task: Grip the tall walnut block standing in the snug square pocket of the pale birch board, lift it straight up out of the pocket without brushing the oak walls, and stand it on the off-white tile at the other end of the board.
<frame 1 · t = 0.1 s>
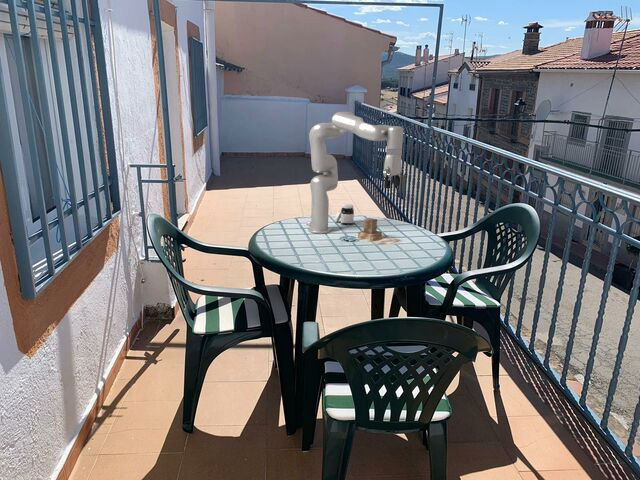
hand: (391, 186, 252), 31 cm above the table, tool pointing down, fingers open, 9 cm apart
walnut block: (369, 237, 272), point 1 cm above the table, touching pocket board
pocket board: (378, 241, 269), on the table
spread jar: (343, 223, 305), on the table
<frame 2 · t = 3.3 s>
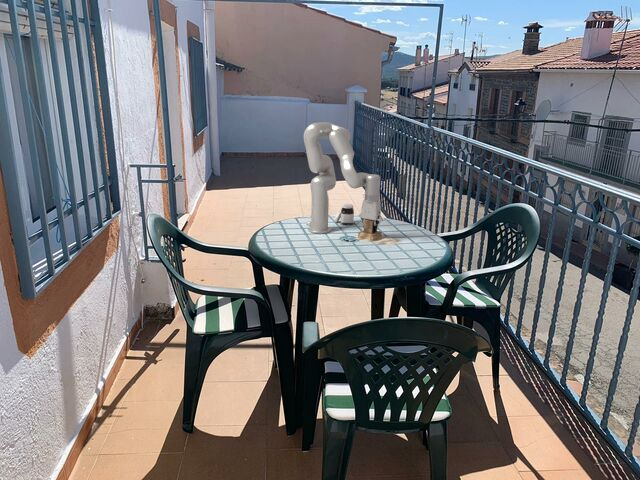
hand: (370, 230, 271), 5 cm above the table, tool pointing down, fingers closed on walnut block, 5 cm apart
walnut block: (369, 237, 272), point 1 cm above the table, touching gripper, pocket board
everything else where it was.
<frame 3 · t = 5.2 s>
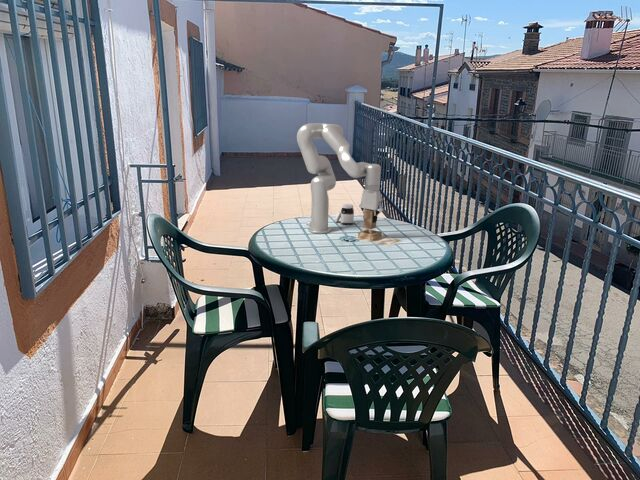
hand: (370, 221, 270), 10 cm above the table, tool pointing down, fingers closed on walnut block, 5 cm apart
walnut block: (369, 227, 271), point 6 cm above the table, touching gripper
everything else where it was.
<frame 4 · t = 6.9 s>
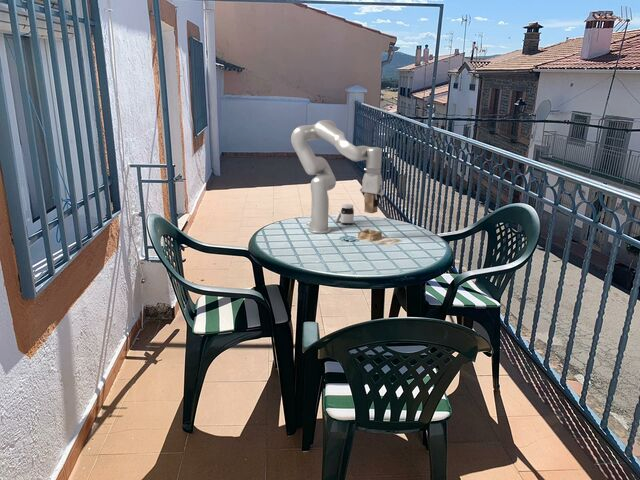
hand: (371, 205, 267), 19 cm above the table, tool pointing down, fingers closed on walnut block, 5 cm apart
walnut block: (370, 211, 268), point 15 cm above the table, touching gripper
everything else where it was.
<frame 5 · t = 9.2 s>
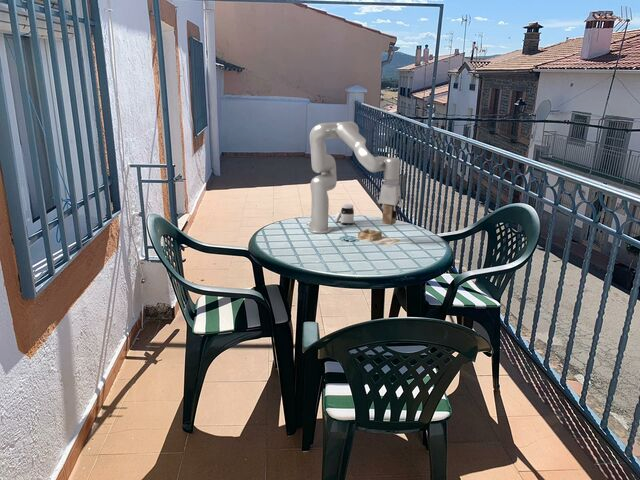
hand: (389, 216, 262), 14 cm above the table, tool pointing down, fingers closed on walnut block, 5 cm apart
walnut block: (389, 223, 263), point 11 cm above the table, touching gripper
everything else where it was.
when the fingers open (6 cm above the table, at t = 10.9 s): walnut block drops 2 cm, resting on pocket board.
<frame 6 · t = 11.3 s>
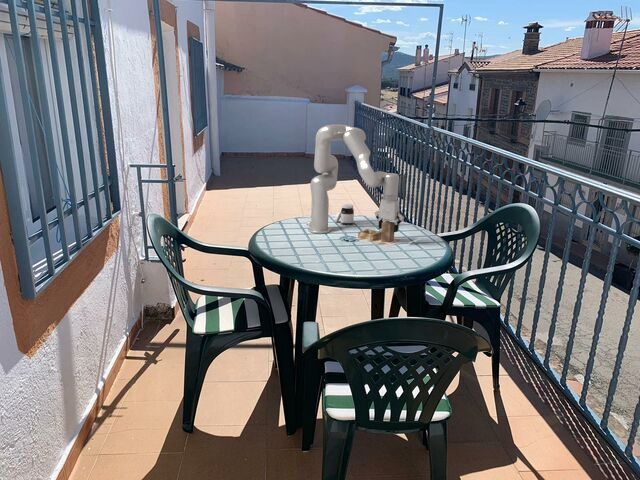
hand: (388, 229, 264), 7 cm above the table, tool pointing down, fingers open, 8 cm apart
walnut block: (387, 240, 266), point 1 cm above the table, touching pocket board
everything else where it was.
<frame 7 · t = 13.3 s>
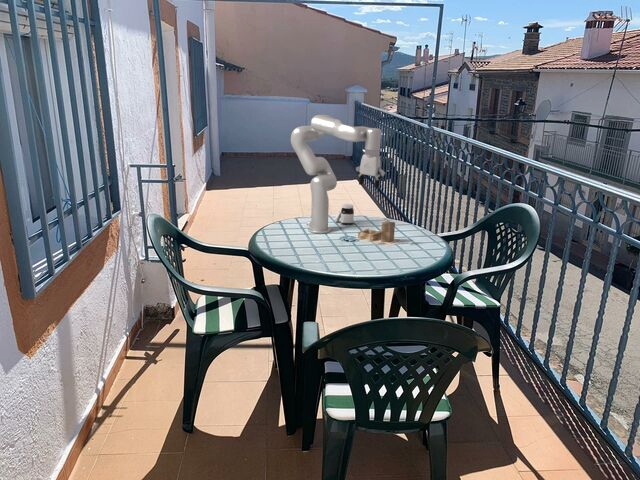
hand: (368, 185, 263), 29 cm above the table, tool pointing down, fingers open, 9 cm apart
nothing on the table moved.
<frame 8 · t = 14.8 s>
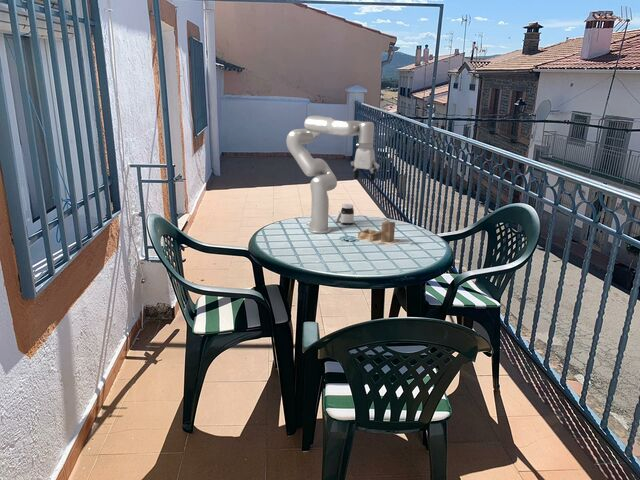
hand: (364, 179, 263), 32 cm above the table, tool pointing down, fingers open, 9 cm apart
nothing on the table moved.
at the end: walnut block 0.1 cm from the target spot on the pocket board, point 1.2 cm above the pocket board's base; walnut block tilted 0°; the gripper is holding nothing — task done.
